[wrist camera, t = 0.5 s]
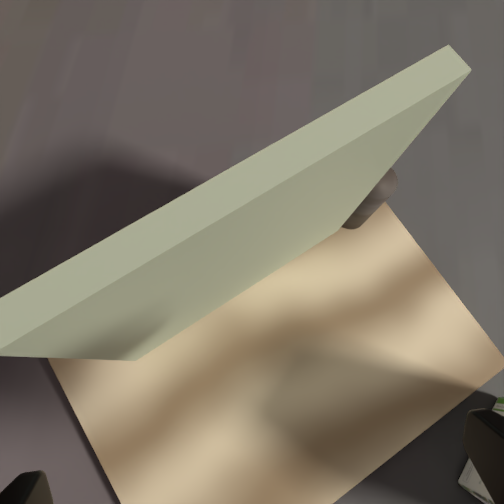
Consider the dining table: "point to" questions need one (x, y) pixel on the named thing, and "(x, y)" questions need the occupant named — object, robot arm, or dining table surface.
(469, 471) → the syrup box
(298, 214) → the door
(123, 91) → the dining table surface
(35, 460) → the dining table surface
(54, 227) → the dining table surface
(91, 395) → the door stand
